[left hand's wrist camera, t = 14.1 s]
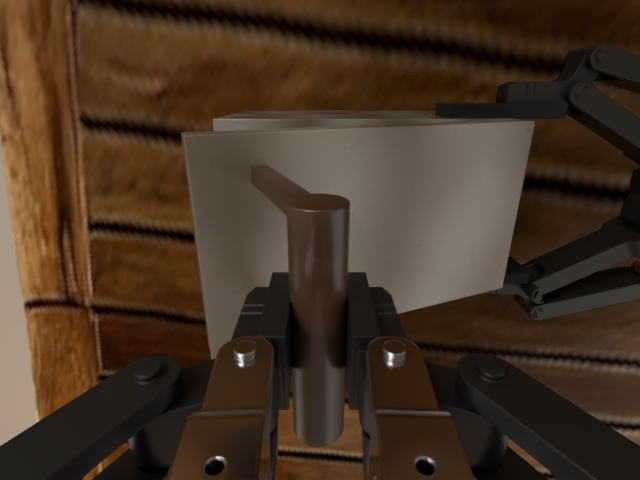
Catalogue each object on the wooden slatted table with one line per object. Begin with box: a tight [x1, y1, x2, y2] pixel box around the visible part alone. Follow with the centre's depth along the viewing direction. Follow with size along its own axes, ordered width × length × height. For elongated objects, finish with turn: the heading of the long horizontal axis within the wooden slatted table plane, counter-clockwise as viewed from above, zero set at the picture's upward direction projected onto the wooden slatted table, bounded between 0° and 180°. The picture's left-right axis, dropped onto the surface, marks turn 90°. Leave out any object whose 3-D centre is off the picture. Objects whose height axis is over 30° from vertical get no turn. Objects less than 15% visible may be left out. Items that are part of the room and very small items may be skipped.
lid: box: [181, 120, 535, 447], centre depth 16 cm, size 17×10×8 cm, turn 90°
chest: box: [213, 110, 520, 131], centre depth 27 cm, size 17×10×9 cm, turn 90°
